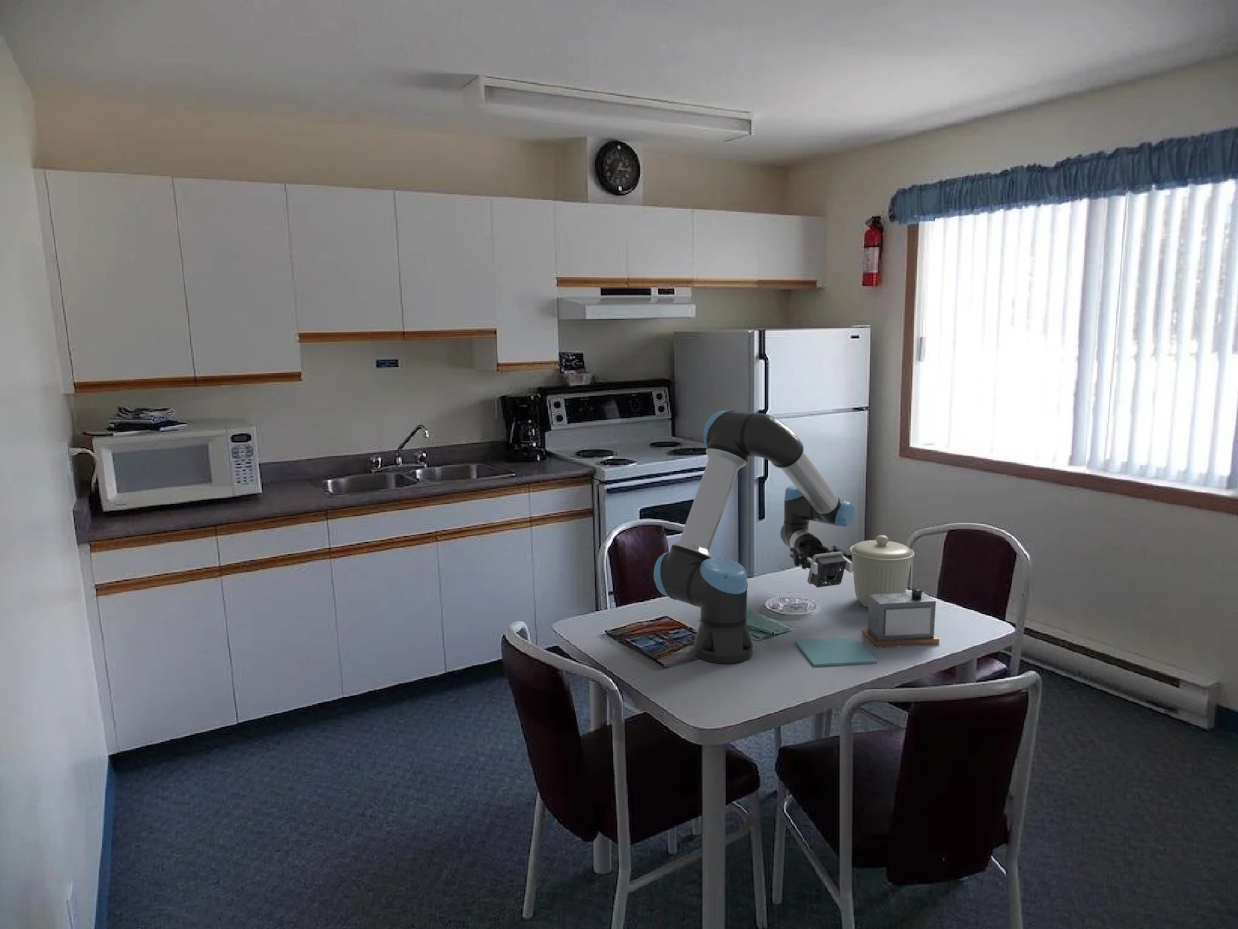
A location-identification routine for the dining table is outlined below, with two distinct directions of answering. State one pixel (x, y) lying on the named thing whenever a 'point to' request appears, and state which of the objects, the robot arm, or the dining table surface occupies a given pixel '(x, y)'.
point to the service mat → (835, 652)
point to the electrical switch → (828, 569)
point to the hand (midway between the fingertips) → (833, 568)
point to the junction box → (901, 619)
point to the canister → (880, 567)
